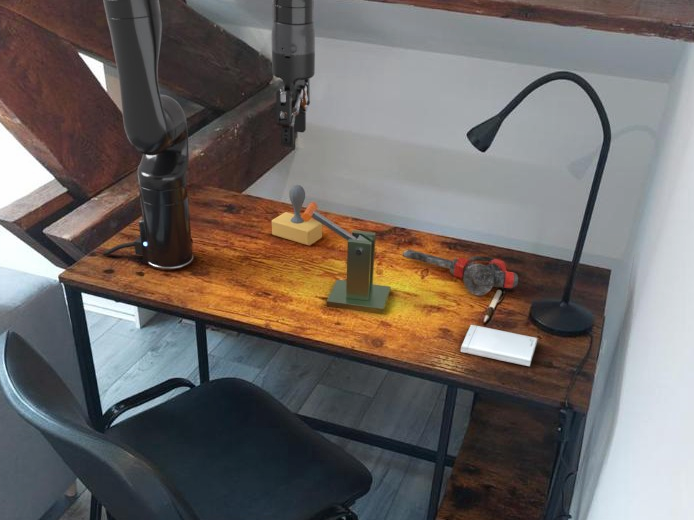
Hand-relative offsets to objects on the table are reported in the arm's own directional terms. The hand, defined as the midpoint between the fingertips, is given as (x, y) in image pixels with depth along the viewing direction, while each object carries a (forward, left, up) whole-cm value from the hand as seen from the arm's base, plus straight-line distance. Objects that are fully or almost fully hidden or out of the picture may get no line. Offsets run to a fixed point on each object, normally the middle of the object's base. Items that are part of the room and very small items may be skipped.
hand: (293, 138), depth 150 cm
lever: (+10, -7, -15) cm, 19 cm away
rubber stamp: (-4, +17, -28) cm, 33 cm away
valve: (+34, +10, -28) cm, 45 cm away
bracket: (+15, -7, -28) cm, 33 cm away
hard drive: (+43, -18, -28) cm, 55 cm away
